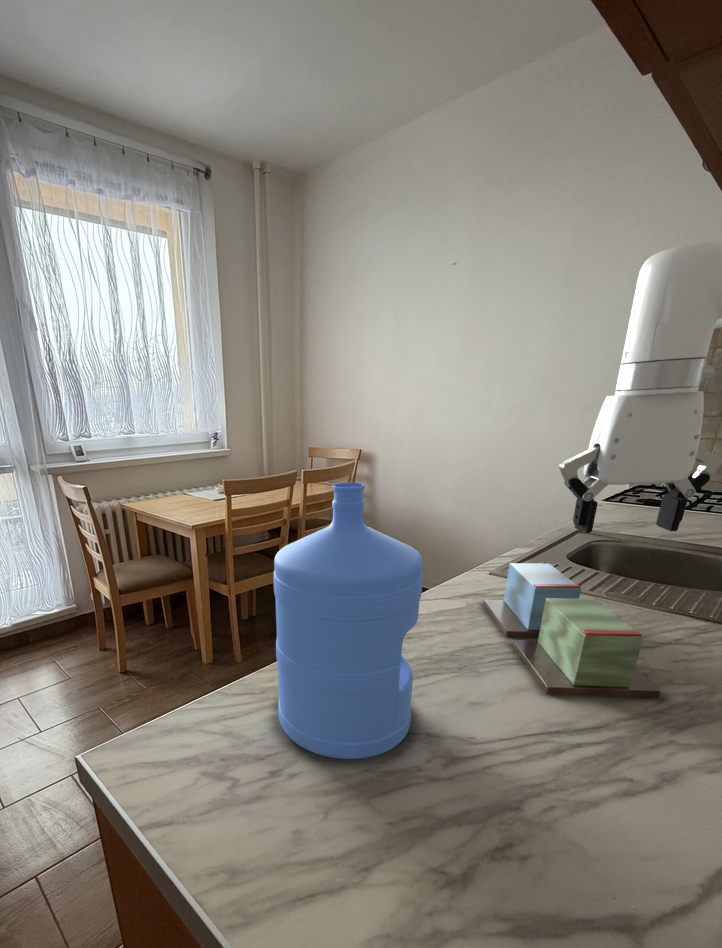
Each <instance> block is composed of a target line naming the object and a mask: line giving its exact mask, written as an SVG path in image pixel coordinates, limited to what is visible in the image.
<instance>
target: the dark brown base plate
mask: <svg viewBox="0 0 722 948" xmlns="http://www.w3.org/2000/svg"><path fill="white" fill-rule="evenodd" d="M482 605H483V607H484V608H485V609H486V611H487V613H488V614H489V615H490V617H491V618H492V619H493V621H494V622H495V624H496V625H497V627H498V629H500V631H501V632H502V634H503V635H504V636H505V637H506V638H538V637H539V632H540V630H528V629H527V628H526V627H525V626H524V625H523V623H522V622H521V621H520V620H519V618H518V617H517V616H516V615H515V614H514V612H513V611H512V610H511V609H510V608H509V606H508V605H507V604H506V603H505V601H504V599H483V603H482Z"/></svg>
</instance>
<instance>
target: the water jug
mask: <svg viewBox="0 0 722 948" xmlns="http://www.w3.org/2000/svg"><path fill="white" fill-rule="evenodd" d="M365 489H366V485H365V484H364V483H362V482H338V483H333V485H332V491H333V500H332V501H331V502H332V503H331V507H332V521H331V523H330V524H329V525H328V526H326V527H324V528H322V529H320V530H317V531H315V532H313V533H310V534H308V535H306V536H304V537H301V538H299V539H297V540H295V541H293V542H291V543H288V544H286V545H284V546H283V547H282V548H280V549H279V551H277V553H276V554H275V556H274V560H273V565H274V570H273V576H272V577H273V593H274V597H275V621H276V622H275V623H276V640H275V658H276V662H277V675H278V701H277V709H278V711H277V712H278V720H279V724H280V726H281V728H282V730H283V731H284V733H285V734H286V736H287V737H288V738H289V739H290V740H291V741H292V742H293V743H295V744H297V745H298V746H299V747H300V748H303V749H304V750H305V751H308V752H310V753H313V754H316V755H319V756H323V757H326V758H331V759H332V758H333V759H339V760H340V759H341V760H359V759H367V758H372V757H377V756H379V755H382V754H384V753H387V752H389V751H390V750H392V749H394V748H396V747H397V746H398V745H399V744H400V743H401V742H402V741H404V739H405V737H406V735H407V734H408V732H409V731H410V730H409V729H410V726H411V719H412V695H413V694H412V693H413V692H412V691H413V681H414V675H413V670H412V667H411V665H410V663H409V662H408V660H407V659H406V658H405V657H404V656H403V655H402V653H403V652H402V651H403V643H404V639H405V637H406V635H407V634H408V632H409V631H410V630H412V629H413V628H414V627H415V626H416V625H417V623H418V620H419V611H420V601H421V599H422V593H423V582H424V575H423V573H424V572H423V566H424V562H423V557H422V555H421V554H420V552H419V551H418V550H417V549H415V548H414V547H412V546H411V545H409V544H407V543H404V542H402V541H400V540H398V539H396V538H394V537H391V536H390V535H387V534H385V533H383V532H380V531H378V530H375V529H374V528H372V527H370V526H367V525H366V523H365V521H364V508H365V500H364V490H365Z"/></svg>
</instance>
